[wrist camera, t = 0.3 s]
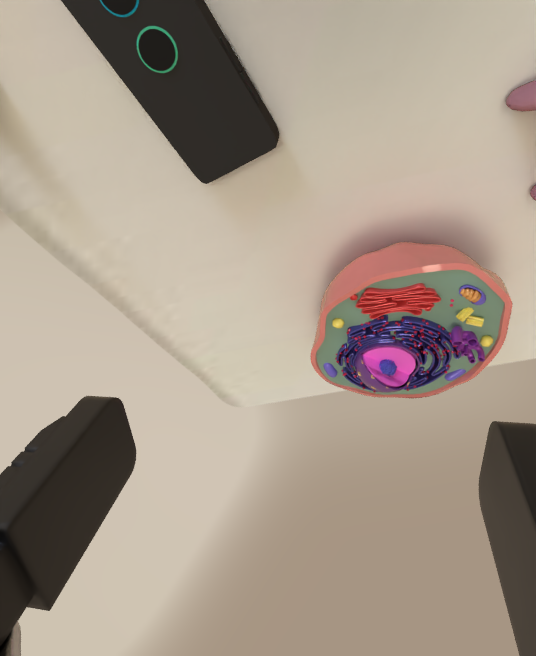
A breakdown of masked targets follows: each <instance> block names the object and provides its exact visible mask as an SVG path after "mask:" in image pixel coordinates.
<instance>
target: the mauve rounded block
mask: <svg viewBox="0 0 536 656" xmlns="http://www.w3.org/2000/svg"><path fill="white" fill-rule="evenodd" d="M506 105H507V106H508V107H509V108H510V109H513V110H517V111H532V110H536V81H532V82H530V83H527V84H525V85H522V86H520V87H518V88H517V89H515V90H513V91H512V92H511V94H510V95H509V96H508V98H507V100H506ZM530 194H531V197H532V198H533V199H534V200H536V185H535V186H534V187H533V188H532V190H531V192H530Z"/></svg>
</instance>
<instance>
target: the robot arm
mask: <svg viewBox="0 0 536 656" xmlns="http://www.w3.org/2000/svg"><path fill="white" fill-rule="evenodd" d="M135 461H136V447H135V443H134V440H133V436H132V433H131V429H130V426H129V422H128V419H127V416H126V412H125V409H124V405H123V403H122V401H121V400H120V399H119V398H114V397H98V396H97V397H96V396H86V397H84V398H82V399H81V400H80V401H79V402H78V403H77V405H76V406H75V407H74V408H73V409H72V410H71V411H70V412H69V413H68V415H67V416H66V417H65V416H63V417H61V418H60V419H58V420H56V421H55V422H53V423H52V424H50V425H49V426H47V427H46V428H44V429H43V430H41V431H40V432H39V433H38V434H37V435H36V437H35V438H34V439H33V440H32V441H31V442H30V443H29V444H28V445H27V446H26V447H25V451H24V452H21V453H20V454H19V455H18V456H17V457H16V458H15V459H14V460H13V461H12V465H11V466H8V467H7V468H6V469H5V470H4V471H3V472H2V473H1V475H0V656H21V631H20V625H19V623H18V620H19V618H20V616H21V615H22V613H23V612H24V610H25V608H26V607H30V608H36V609H42V610H48V611H50V609H51V608H52V606H53V604H54V603H55V601H56V599H57V598H58V596H59V594H60V593H61V591H62V589H63V587H64V586H65V584H66V583H67V581H68V579H69V578H70V576H71V574H72V572H73V571H74V569H75V567H76V566H77V564H78V562H79V561H80V559H81V557H82V556H83V554H84V552H85V551H86V549H87V547H88V546H89V544H90V542H91V541H92V539H93V537H94V536H95V534H96V532H97V531H98V529H99V527H100V526H101V524H102V522H103V521H104V519H105V517H106V515H107V514H108V512H109V510H110V508H111V507H112V505H113V504H114V502H115V500H116V499H117V497H118V495H119V494H120V492H121V490H122V488H123V487H124V485H125V484H126V482H127V480H128V479H129V477H130V475H131V473H132V471H133V469H134V465H135ZM479 499H480V506H481V511H482V515H483V518H484V522H485V526H486V529H487V533H488V537H489V541H490V545H491V549H492V552H493V556H494V560H495V563H496V568H497V571H498V575H499V579H500V583H501V587H502V590H503V594H504V598H505V602H506V605H507V609H508V613H509V617H510V621H511V625H512V628H513V632H514V636H515V640H516V643H517V647H518V651H519V655H520V656H536V424H530V423H513V422H497V421H494V422H492V423H491V425H490V428H489V432H488V437H487V442H486V447H485V452H484V457H483V462H482V467H481V472H480V477H479Z"/></svg>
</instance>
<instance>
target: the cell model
mask: <svg viewBox="0 0 536 656" xmlns="http://www.w3.org/2000/svg"><path fill="white" fill-rule="evenodd" d="M511 309H512V301H511V299H510V296H509V294H508V291H507V289H506V287H505V285H504V283H503V281H502V279H501V278H500V277H499V276H497V275H496V274H495V273H493V272H491V271H490V270H487V269H485V268H482V267H481V266H480V265H479V264H478V263H476V262H475V261H474V260H473V259H471V258H470V257H469V256H467V255H466V254H464V253H463V252H461V251H459V250H457V249H455V248H453V247H450V246H447V245H436V244H420V243H411V242H399V243H395V244H392V245H390V246H387V247H385V248H383V249H380V250H377V251H373V252H370V253H366V254H364V255H362V256H360V257H358V258H357V259H355V260H354V261H352V262H351V263H350V264H348V265H347V266H346V267H345V268H344V269H343V270H342V271H341V272H340V273H339V274H338V275H337V276H336V277H335V278H334V279H333V280H332V282H331V283H330V284H329V285H328V287H327V289H326V291H325V293H324V295H323V298H322V302H321V309H320V315H319V320H318V326H317V331H316V336H315V340H314V344H313V347H312V351H311V363H312V365H313V367H314V369H315V371H316V372H317V373H318V374H319V375H320V376H321V377H322V378H323V379H324V380H326V381H327V382H329V383H331V384H333V385H335V386H338V387H340V388H343V389H346V390H349V391H353V392H356V393H359V394H363V395H366V396H372V397H398V398H422V397H428V396H432V395H436V394H439V393H441V392H444V391H446V390H448V389H450V388H452V387H454V386H457V385H459V384H462V383H464V382H467V381H469V380H471V379H472V378H474V377H475V376H476V375H478V374H479V373H480V371H482V370H483V369H484V368H485V367H486V366H487V365H488V364H489V363H490V362H491V361H492V359H493V358H494V357H495V356H496V354H497V353H498V352H499V350H500V349H501V347H502V345H503V343H504V341H505V338H506V334H507V330H508V325H509V319H510V315H511Z"/></svg>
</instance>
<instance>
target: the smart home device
mask: <svg viewBox="0 0 536 656" xmlns="http://www.w3.org/2000/svg"><path fill="white" fill-rule="evenodd" d="M61 1H62V2H63V3H64V5H65V6H66V7H67V9H68V10H69V11H70V12H71V14H72V15H73V16H74V18H75V19H76V20H77V22H78V23H79V24H80V26H81V27H82V28H83V29H84V31H85V32H86V33H87V35H88V36H89V37H90V39H91V40H92V41H93V43H94V44H95V45H96V47H97V48H98V49H99V50H100V52H101V53H102V54H103V56H104V57H105V58H106V60H107V61H108V62H109V64H110V65H111V66H112V67H113V69H114V70H115V71H116V73H117V74H118V75H119V77H120V78H121V79H122V81H123V82H124V83H125V84H126V86H127V87H128V88H129V90H130V91H131V92H132V94H133V95H134V96H135V98H136V99H137V100H138V101H139V103H140V104H141V105H142V107H143V108H144V109H145V111H146V112H147V113H148V115H149V116H150V117H151V119H152V120H153V121H154V122H155V124H156V125H157V126H158V128H159V129H160V130H161V132H162V133H163V134H164V136H165V137H166V138H167V139H168V141H169V142H170V143H171V145H172V146H173V147H174V149H175V150H176V151H177V153H178V154H179V155H180V156H181V158H182V159H183V160H184V162H185V163H186V164H187V166H188V167H189V168H190V170H191V171H192V172H193V173H194V175H195V176H196V177H197V178H198V179H199V180H200V181H201V182H203V183H205V184H208V183H210V182H212V181H214V180H216V179H218V178H220V177H222V176H223V175H225V174H227V173H229V172H231V171H233V170H235V169H237V168H239V167H240V166H242V165H244V164H246V163H248V162H250V161H252V160H254V159H256V158H257V157H259V156H261V155H263V154H265V153H267V152H269V151H271V150H272V149H274V148H275V147H276V145H277V142H278V138H279V131H278V128H277V126H276V124H275V122H274V120H273V118H272V117H271V115H270V113H269V112H268V110H267V108H266V106H265V105H264V103H263V101H262V100H261V98H260V96H259V94H258V93H257V91H256V89H255V88H254V86H253V84H252V82H251V81H250V79H249V77H248V76H247V74H246V72H245V70H244V69H243V67H242V65H241V64H240V62H239V60H238V58H237V57H236V55H235V53H234V52H233V50H232V48H231V46H230V45H229V43H228V41H227V40H226V38H225V36H224V35H223V33H222V31H221V29H220V28H219V26H218V24H217V23H216V21H215V19H214V17H213V16H212V14H211V12H210V11H209V9H208V7H207V5H206V4H205V2H204V0H61Z"/></svg>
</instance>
